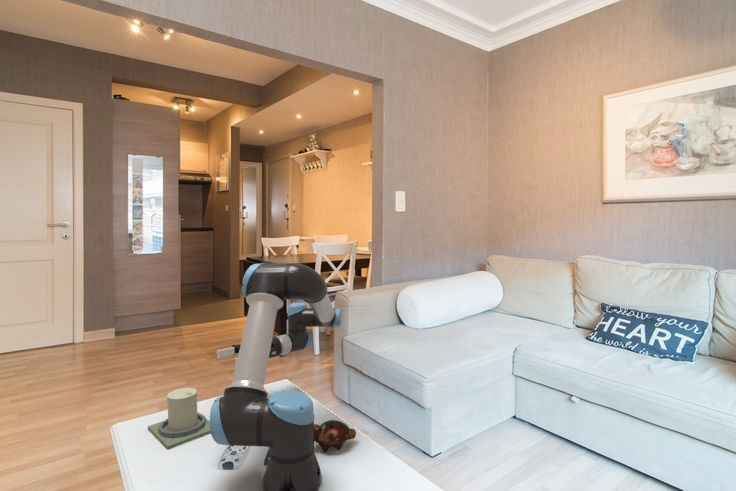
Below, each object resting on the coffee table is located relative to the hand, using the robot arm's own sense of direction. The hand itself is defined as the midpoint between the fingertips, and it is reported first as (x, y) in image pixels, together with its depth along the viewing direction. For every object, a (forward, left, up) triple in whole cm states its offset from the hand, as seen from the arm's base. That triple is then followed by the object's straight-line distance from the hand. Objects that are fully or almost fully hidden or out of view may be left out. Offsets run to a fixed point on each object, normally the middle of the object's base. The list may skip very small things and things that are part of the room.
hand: (226, 358), depth 143 cm
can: (+2, +15, -20) cm, 25 cm away
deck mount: (+2, +15, -21) cm, 26 cm away
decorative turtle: (-42, -13, -21) cm, 49 cm away
